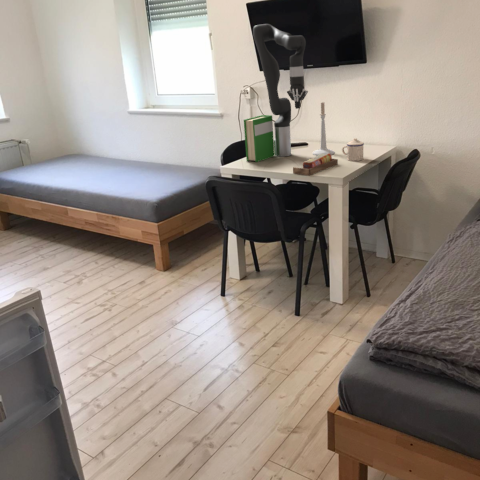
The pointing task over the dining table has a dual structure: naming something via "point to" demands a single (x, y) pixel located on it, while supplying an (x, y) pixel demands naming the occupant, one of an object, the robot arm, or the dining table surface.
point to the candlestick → (323, 135)
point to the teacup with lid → (354, 150)
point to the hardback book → (259, 138)
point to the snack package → (317, 160)
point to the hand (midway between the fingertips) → (297, 108)
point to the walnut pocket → (315, 168)
